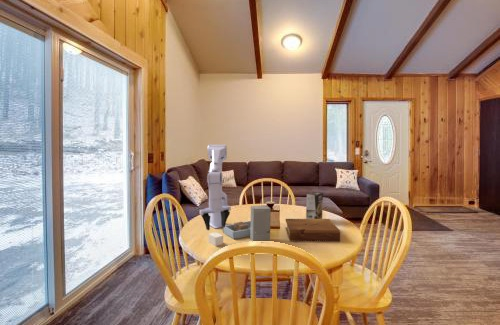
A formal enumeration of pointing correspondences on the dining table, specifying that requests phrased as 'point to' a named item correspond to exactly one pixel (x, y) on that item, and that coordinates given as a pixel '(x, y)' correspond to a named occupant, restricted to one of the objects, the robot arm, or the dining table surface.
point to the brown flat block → (312, 230)
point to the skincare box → (260, 223)
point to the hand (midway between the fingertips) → (215, 228)
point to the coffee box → (314, 205)
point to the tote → (237, 234)
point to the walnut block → (240, 226)
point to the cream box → (216, 239)
